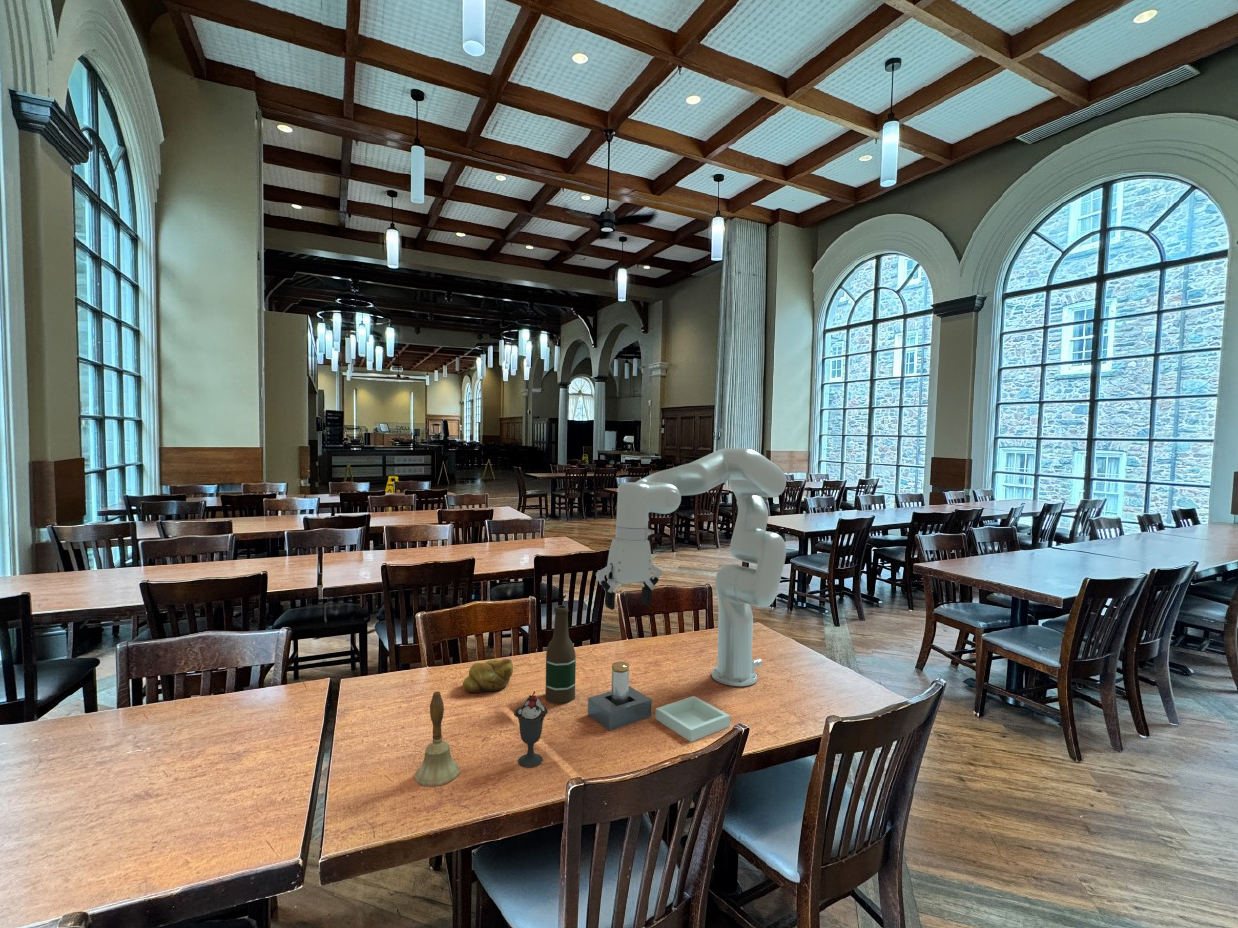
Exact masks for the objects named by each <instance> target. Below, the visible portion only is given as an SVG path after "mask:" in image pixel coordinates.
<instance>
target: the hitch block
mask: <svg viewBox="0 0 1238 928" xmlns="http://www.w3.org/2000/svg"><path fill="white" fill-rule="evenodd" d="M611 695H612V690H610V691H607V692H604V693H600V694H597V695H593V696H590V697H587V716H589V717H590V718H591V719H593V720H594V721H595V722H596V723H598V724H600V725H601V726H602V727H603V728H605V729H606V730H607V731H608V732H609V731H614V730H615V729H620V728H622V727H625V726H628V725H631V724H635V723H637V722H640V721H643V720H646V719H648V718H652V717H653V716H652V712H653V711H652V709H653V707H652V705H653V700H652V699H651V698H650V697H649V696H647V695H645V694H644V693H642V692H640V691H639V690H636V689H635V688H633V687H632V686H630V685H629V695H628V703H625V704H622V705H619V706H616V705H615V704H613V703H612V702H611Z"/></svg>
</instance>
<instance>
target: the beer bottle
mask: <svg viewBox="0 0 1238 928" xmlns="http://www.w3.org/2000/svg"><path fill="white" fill-rule="evenodd" d="M553 612H554V625H553V626H554V628H553V635H552V638H551V640H550V641H549V642H548V645H547V647H546V651H545V699H546V702H548V703H550V704H554V705H563V704H569V703H571V702H572V701H575V699H576V667H577V666H576V663H577V661H576V659H577V658H576V650H575V646H574V644H573V642H572V640H571V638H570V634H569V618H568V612H570V610H569V607H568V606H567V605H560V604H559V605H557V606H555V607H554V609H553Z"/></svg>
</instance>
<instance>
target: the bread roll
mask: <svg viewBox="0 0 1238 928" xmlns="http://www.w3.org/2000/svg"><path fill="white" fill-rule="evenodd" d="M512 661H513V660H512V659H510V658H502V659H489V660H486V662H475V663H473V664H472V665H471V666H470V668H469V670H468V676H467V677H465V678H464V680H463V682H462V687H463V690H465V691H466V692H469V693H481V692H483V691H484V692H497V691H499V690H502V689H504V688H506V687H507V686H508V684H509V683H510V679H511V677H512V676H513V672H514V664H513V662H512Z"/></svg>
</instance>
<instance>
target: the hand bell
mask: <svg viewBox="0 0 1238 928" xmlns="http://www.w3.org/2000/svg"><path fill="white" fill-rule="evenodd" d="M444 708H445V706H444V701H443V697H442V695H441V692H440V691H434V692H433V693H432V698H431V700H430V705H429V717H430V720H431V722H432V723H431V724H432V742H431V743H429V744H427V746H426V747H425V750H424V757H423V760H422V761H423V762H422V764H421V765H420V766H419V767H418V769H417V770H416V772H415V773H414V780H415V782H416V783H417V784H419V785H420V786H424V787H437V786H442V785H445V784H448V783H450V782H451V781H453V780H455V779H456V778H457V776H459V773H460V771H461V770H460V769H461V768H460V766H459V764H458V763H457V762H456V760H454V759H453V757H452V755H451V754H452V753H451V750H450V749H451V748H450V744H449V742H447V741H444V740H443V735H442V722H443V719H444V715H445V714H444V711H445V709H444Z"/></svg>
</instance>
